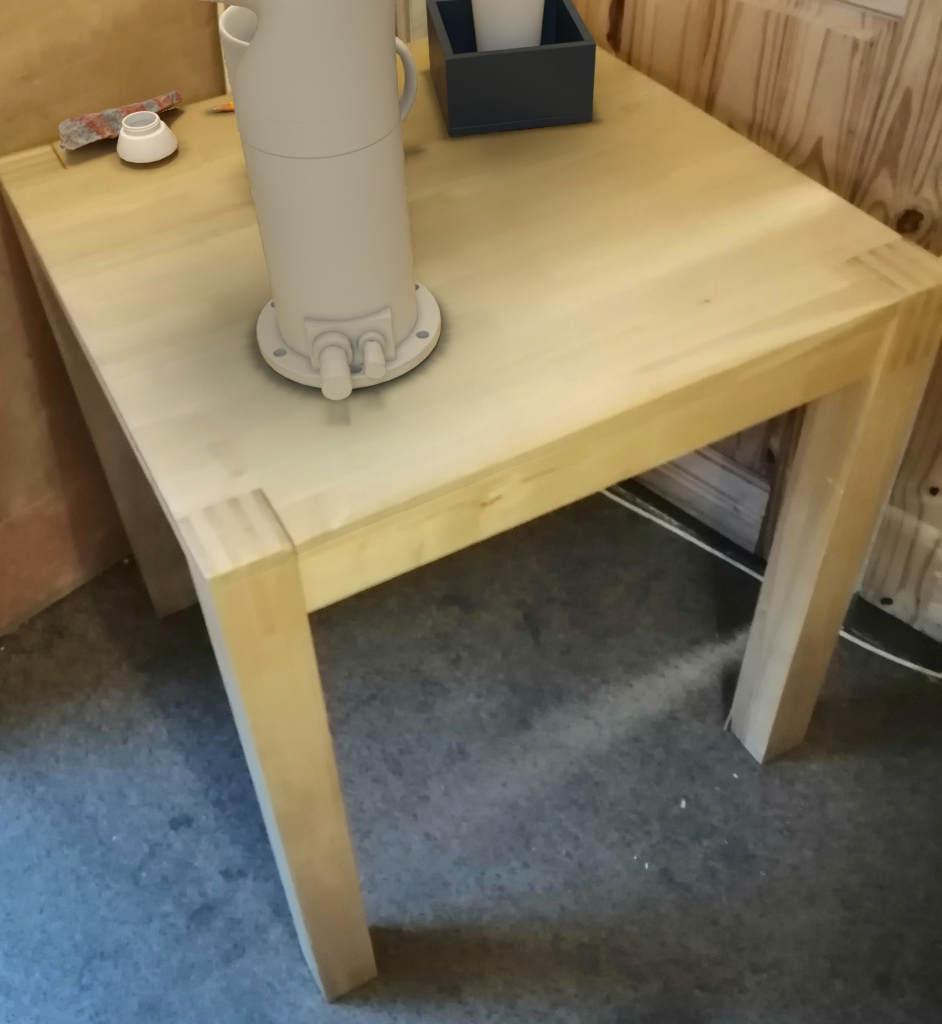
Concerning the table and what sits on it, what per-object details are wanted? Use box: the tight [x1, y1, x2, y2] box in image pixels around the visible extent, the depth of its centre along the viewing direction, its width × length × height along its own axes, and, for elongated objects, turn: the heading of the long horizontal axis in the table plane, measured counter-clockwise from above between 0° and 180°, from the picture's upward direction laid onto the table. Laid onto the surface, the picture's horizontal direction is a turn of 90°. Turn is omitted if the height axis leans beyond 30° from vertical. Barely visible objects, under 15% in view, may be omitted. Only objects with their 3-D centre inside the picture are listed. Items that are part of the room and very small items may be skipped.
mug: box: [218, 5, 418, 124], centre depth 85 cm, size 15×11×13 cm
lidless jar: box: [116, 111, 179, 164], centre depth 91 cm, size 5×3×5 cm
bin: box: [425, 0, 597, 138], centre depth 95 cm, size 13×13×7 cm
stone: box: [57, 89, 184, 151], centre depth 94 cm, size 12×2×5 cm
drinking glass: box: [471, 0, 545, 52], centre depth 91 cm, size 7×7×15 cm
